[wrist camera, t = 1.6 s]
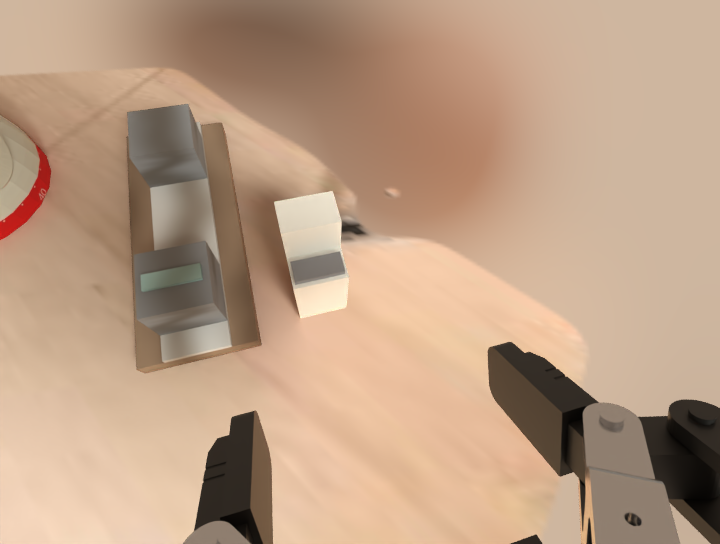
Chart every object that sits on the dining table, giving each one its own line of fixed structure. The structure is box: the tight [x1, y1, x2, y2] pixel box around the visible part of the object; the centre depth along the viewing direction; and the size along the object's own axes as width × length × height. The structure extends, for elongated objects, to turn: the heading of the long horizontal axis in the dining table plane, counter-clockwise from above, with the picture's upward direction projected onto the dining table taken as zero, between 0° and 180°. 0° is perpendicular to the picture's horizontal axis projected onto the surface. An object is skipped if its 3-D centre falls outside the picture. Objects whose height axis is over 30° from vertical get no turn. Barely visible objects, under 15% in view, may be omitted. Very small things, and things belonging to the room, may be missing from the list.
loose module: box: [274, 191, 349, 318], centre depth 30 cm, size 4×5×10 cm
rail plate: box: [127, 104, 261, 373], centre depth 33 cm, size 9×23×6 cm, turn 15°
